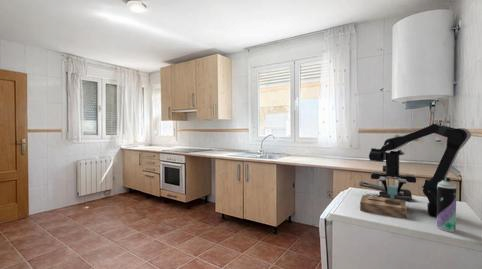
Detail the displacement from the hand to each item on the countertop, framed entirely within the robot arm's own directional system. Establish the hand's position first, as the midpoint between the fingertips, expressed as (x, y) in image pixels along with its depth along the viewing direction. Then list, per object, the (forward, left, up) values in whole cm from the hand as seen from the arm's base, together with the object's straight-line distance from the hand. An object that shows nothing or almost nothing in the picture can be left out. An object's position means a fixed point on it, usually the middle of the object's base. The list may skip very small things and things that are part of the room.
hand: (392, 193), depth 117 cm
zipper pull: (+4, -12, -6) cm, 14 cm away
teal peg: (0, 0, -5) cm, 5 cm away
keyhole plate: (+4, +11, -5) cm, 12 cm away
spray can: (-17, +22, -6) cm, 28 cm away
